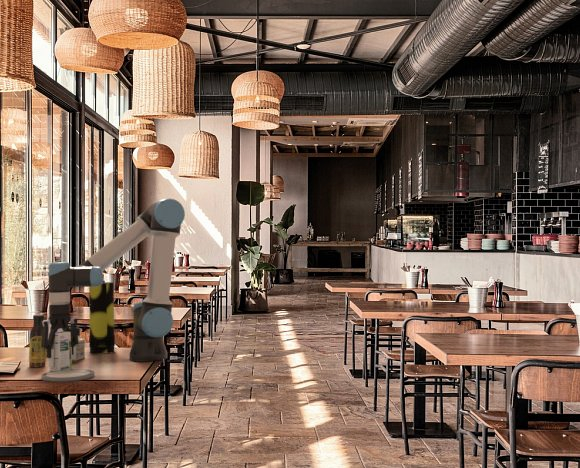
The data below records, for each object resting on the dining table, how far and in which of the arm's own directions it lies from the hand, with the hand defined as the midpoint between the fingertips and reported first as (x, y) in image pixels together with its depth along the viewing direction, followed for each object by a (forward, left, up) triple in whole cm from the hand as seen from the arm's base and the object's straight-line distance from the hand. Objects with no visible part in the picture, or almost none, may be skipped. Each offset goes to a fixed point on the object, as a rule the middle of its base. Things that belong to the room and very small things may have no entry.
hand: (60, 365), depth 284 cm
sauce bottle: (+12, -11, -2) cm, 16 cm away
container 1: (+4, -29, -2) cm, 29 cm away
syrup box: (0, 0, -2) cm, 2 cm away
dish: (-7, +14, -2) cm, 16 cm away
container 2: (-4, -47, -2) cm, 47 cm away
